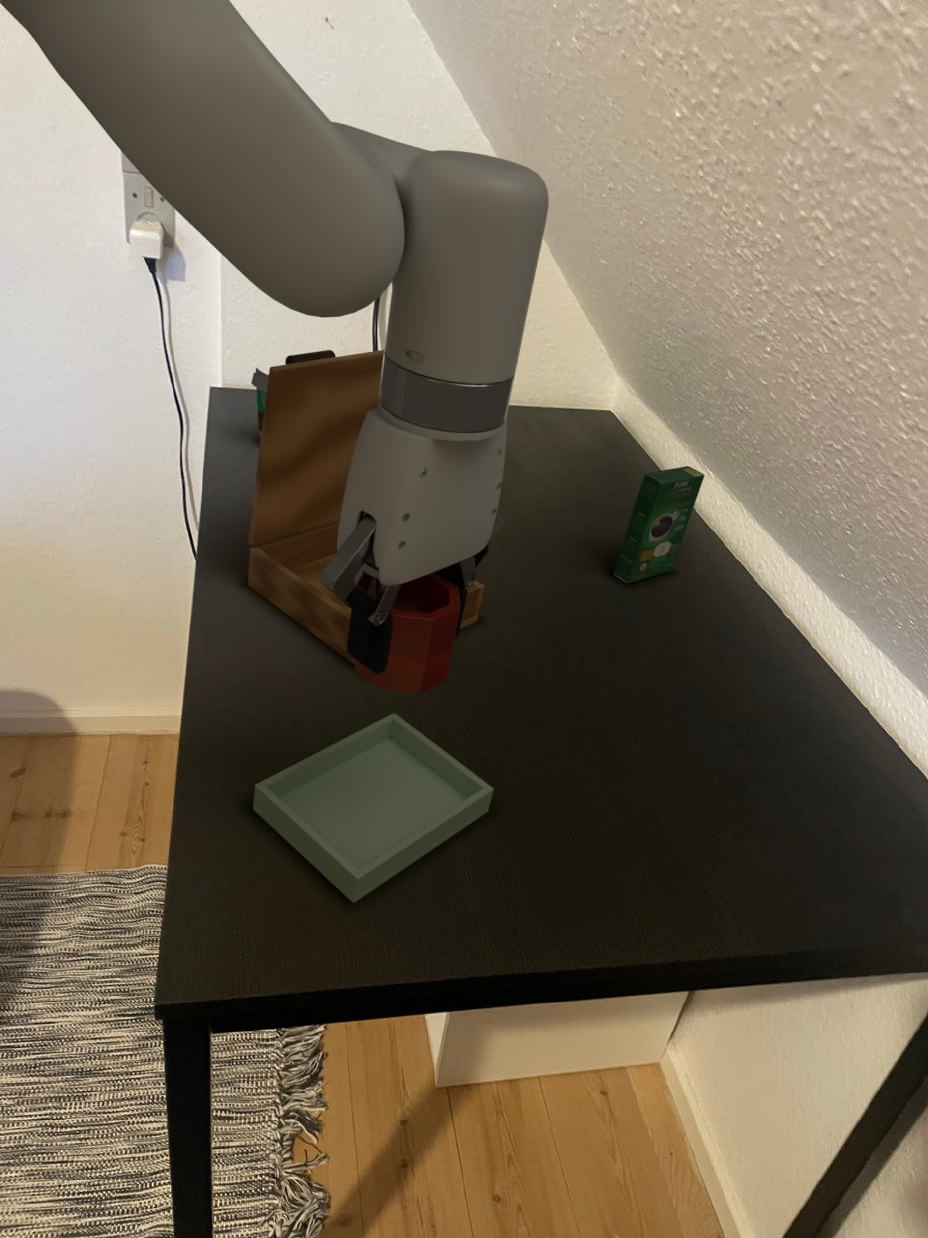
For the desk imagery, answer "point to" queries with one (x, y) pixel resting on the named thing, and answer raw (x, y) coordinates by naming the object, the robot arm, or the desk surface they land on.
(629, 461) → the desk surface
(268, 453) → the lid
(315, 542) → the chest
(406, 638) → the red octagonal tube
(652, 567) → the coffee box
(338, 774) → the tray
